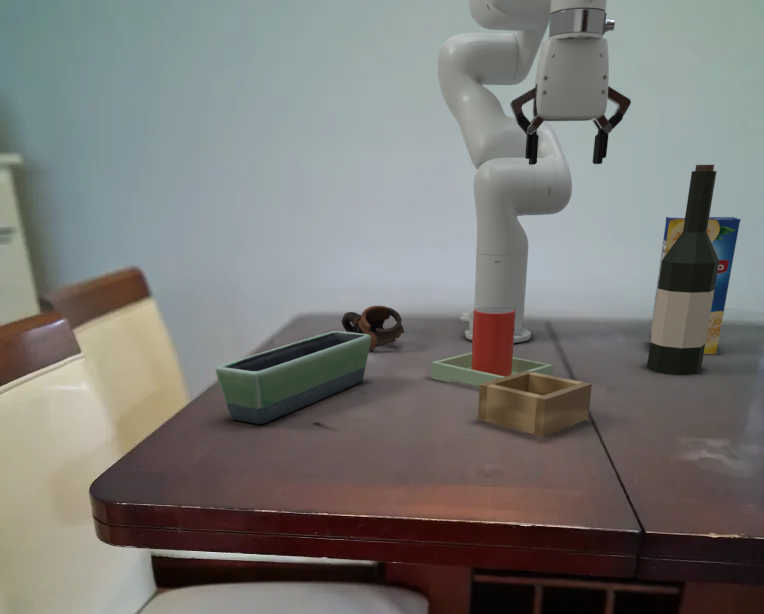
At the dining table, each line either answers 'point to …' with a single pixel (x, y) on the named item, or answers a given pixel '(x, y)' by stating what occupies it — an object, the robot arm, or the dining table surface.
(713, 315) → the beverage box
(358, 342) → the planter
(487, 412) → the box
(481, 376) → the tray
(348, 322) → the pottery mug
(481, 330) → the can
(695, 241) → the wine bottle
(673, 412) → the dining table surface
